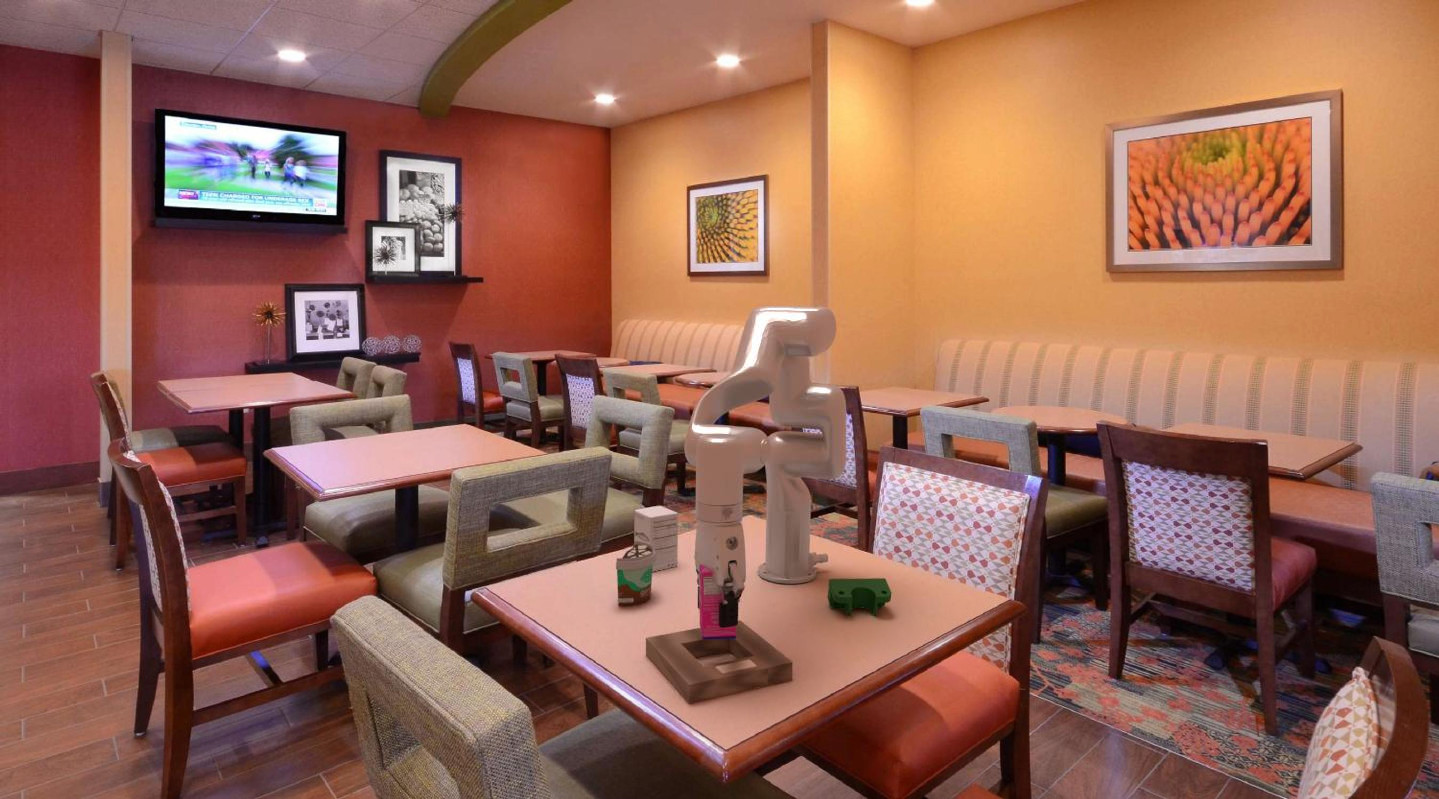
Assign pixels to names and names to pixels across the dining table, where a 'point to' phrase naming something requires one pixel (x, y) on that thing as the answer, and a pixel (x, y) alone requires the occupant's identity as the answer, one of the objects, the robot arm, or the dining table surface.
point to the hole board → (706, 682)
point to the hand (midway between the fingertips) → (717, 616)
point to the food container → (635, 574)
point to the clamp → (858, 594)
